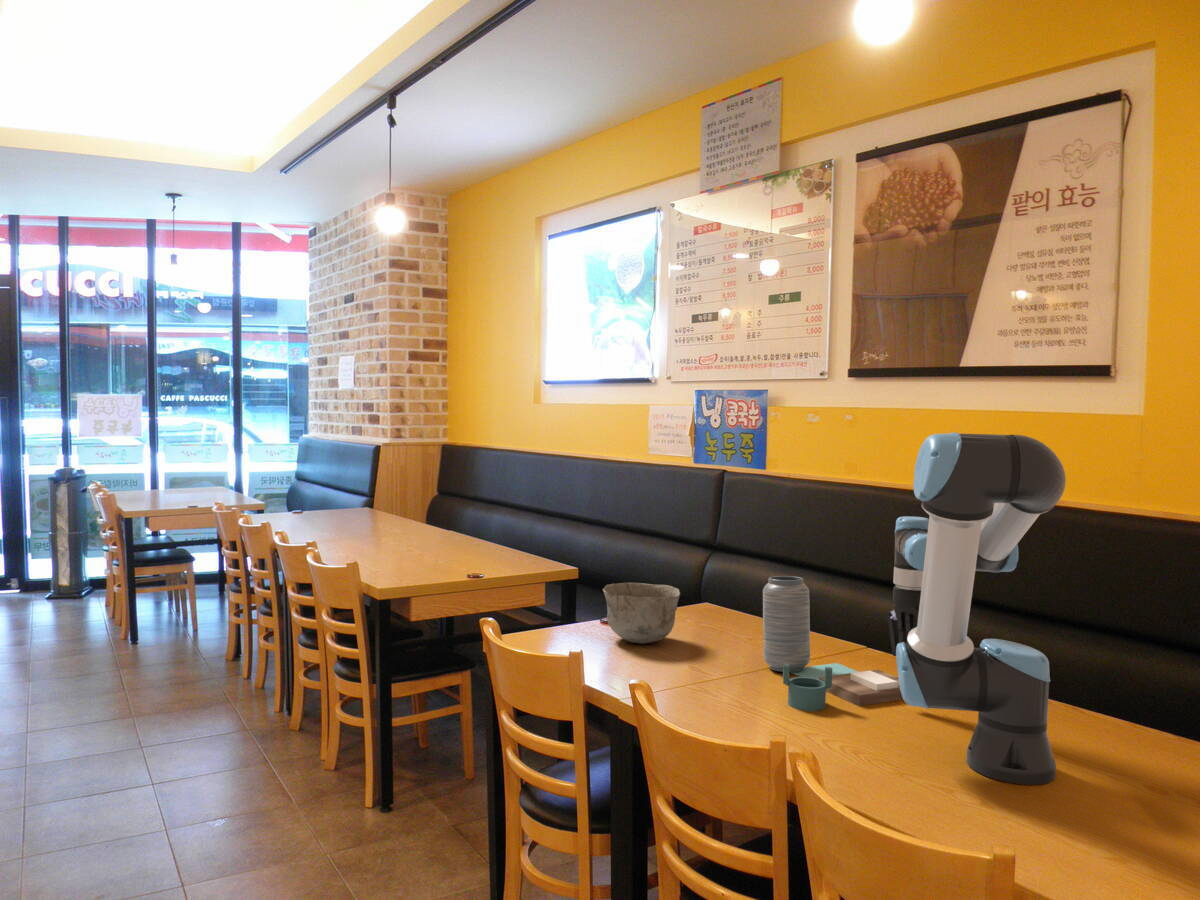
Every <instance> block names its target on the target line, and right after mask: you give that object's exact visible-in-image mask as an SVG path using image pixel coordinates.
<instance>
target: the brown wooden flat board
mask: <svg viewBox="0 0 1200 900" xmlns="http://www.w3.org/2000/svg"><path fill="white" fill-rule="evenodd" d="M864 671H865V670H863V671H862V672H864ZM870 671H873V672H875V673H877V674H880V675H882V676H885V677H887V678H890V679H892V680H895V681H897V688H893V689H886V690H879V691H876V690H874V689H871V688H869V687H867V686H864V685H862V684H860V683H857V682H855V681H853V680H850V673H848V674H841V675H833V676H832V687H830V688H827V689H826V693H830V694H832V695H834V696H836V697H838V698H840V699H842V700H845V701H847V702H849V703H851V704H852V705H855V706H857V707H862V706H869V705H874V704H875V705H876V704H882V703H887V702H895V701H901V700H903V697H902V694H901V691H900V684H899V678H898V676H895V675H893V674H890V673H887V672H885V671H882V670H881V669H873V670H872V669H870ZM819 680H822V681H825V677H819Z"/></svg>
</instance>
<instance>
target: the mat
mask: <svg viewBox="0 0 1200 900" xmlns="http://www.w3.org/2000/svg"><path fill="white" fill-rule="evenodd" d="M825 667H832V676H833V675H841V674H848V673H856V672H859V671H858V670H855V669H853V668H850V667H847V666H845V665H843V664H840V663H837V662H834V663H827V664H820V665H818V664H817V665H810V666H805V667H804V670H802V671H798V672H789V674H793V675H794V676H796V677H810V678H815V679H819V677H825Z"/></svg>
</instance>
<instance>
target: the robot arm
mask: <svg viewBox="0 0 1200 900" xmlns="http://www.w3.org/2000/svg"><path fill="white" fill-rule="evenodd" d="M916 457H917V458H916V461H915V465H914V472H913V476H914V477H913V493H914V496H915V498H916V499H917V500H919V501H921V508H922V510H924V512H925V513H926V514H927V515H929V517H922V516H907V515H906V516H905V515H904V516H899V517H898V518H897V519H896V521H895V528H894V529H895V530H894V563H893V564H894V565H893V579H892V580H893V581H892V582H893V584H894V586H893V588H892V589H893V590H892V602H893V603H894V604H895V605H893V606H894V607H893V610H891V611H887V612H885V617H886V620H887V622H888V629H889V637H890V645H891V652H892V655H893V657H896V658H895V659H896V660H895V661H896V668H897V669H896V670H897V677H898V678H899V684H900V691H901V694H902V697H903V699H902V700H903V701H904V703H905V704H906V705H908V706H911V707H917V708H924V709H926V710H930V709H935V710H938V709H939V710H950V711H951V710H953V711H966V712H967V711H968V712H978V718H977V724H976V725H975V729H974V731H973V734H972V736H971V737H970V741H969V744H968V746H967V748H966V764H967V765H968V767H970V768H971V769H972V770H973V771H975V772H977V773H978V774H981V775H982V776H986V777H988V778H991V779H994V780H997V781H1000V782H1006V783H1009V784H1010V783H1011V784H1017V785H1018V784H1019V785H1029V786H1030V785H1038V786H1039V785H1044V784H1049V783H1051V782H1053V781H1054V780H1055V779H1056V774H1057V773H1056V772H1057V763H1056V760H1055V758H1054V756H1053V751H1052V747H1051V744H1050V740H1049V737H1048V713H1049V691H1050V682H1051V677H1050V661H1049V659H1048V657H1047V656H1046V655H1045V654H1044V653H1043V652H1042V651H1040V650H1038V649H1035V648H1034V647H1031V646H1029V645H1026V644H1022V643H1019V642H1014V641H1011V640H1006V639H999V638H984V639H983V640H981V641H980V644H979V647H975V646H974V642H973V640H972V639H971V638H970V637H969V636H967V635H968V629H969V621H970V612H971V605H972V598H973V589H974V583H975V576H976V572H989V573H996V574H997V573H1002V572H1003V573H1004V572H1005V573H1009V572H1013V571H1014V570H1015V569H1016V568H1017V564H1018V562H1019V545H1018V544H1019V542H1020V541H1021V540H1022V538H1023V537H1024V535H1025V534H1026V533H1027V532H1028V531H1029V529H1031V527H1032V525H1033V524H1034V523H1035V522H1036V520H1037V519H1038V518H1039V516H1040V515H1041V514H1044V513H1048V512H1049V511H1051V510H1052V509H1054V507H1055V506H1056V505H1057V503H1058V502H1059V501H1060V500H1061V498H1062V496H1063V494H1064V492H1065V489H1066V482H1067V480H1066V471H1065V469H1064V466H1063V463H1062V462H1061V459H1060V458H1059V456H1057V455H1056V453H1055V452H1054V451H1053V450H1052V448H1050V447H1049V446H1047V445H1046V444H1045V443H1044V442H1042V441H1040V440H1038V439H1036V438H1033V437H1031V436H1028V435H1027V436H1026V435H1022V434H993V433H991V434H986V433H958V432H955V431H954V432H949V433H934V434H933V433H932V434H931V435H929V436H927V437H926V438H925V440H923V443H921V446H920V448H919V450H918V453H917V456H916Z"/></svg>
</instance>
